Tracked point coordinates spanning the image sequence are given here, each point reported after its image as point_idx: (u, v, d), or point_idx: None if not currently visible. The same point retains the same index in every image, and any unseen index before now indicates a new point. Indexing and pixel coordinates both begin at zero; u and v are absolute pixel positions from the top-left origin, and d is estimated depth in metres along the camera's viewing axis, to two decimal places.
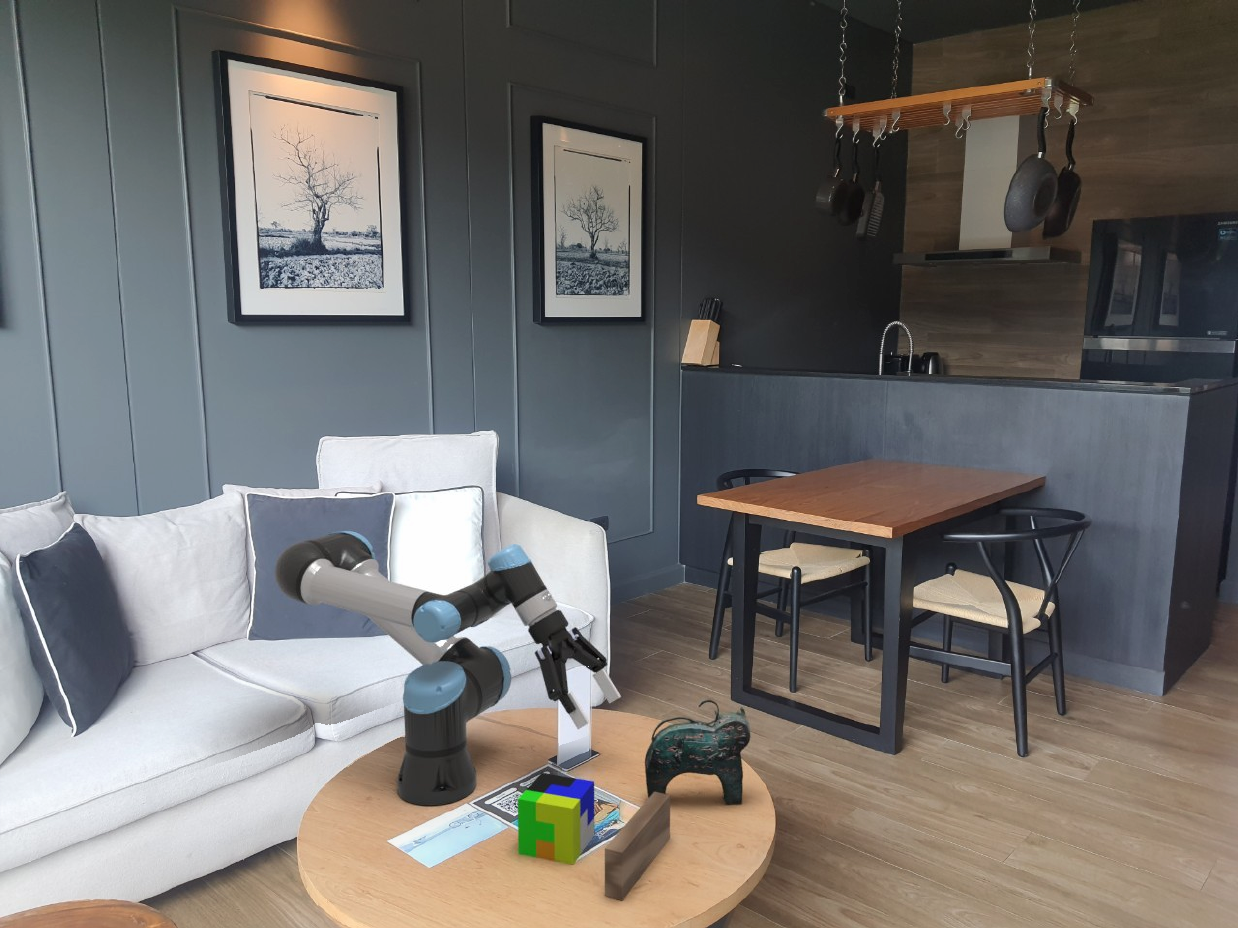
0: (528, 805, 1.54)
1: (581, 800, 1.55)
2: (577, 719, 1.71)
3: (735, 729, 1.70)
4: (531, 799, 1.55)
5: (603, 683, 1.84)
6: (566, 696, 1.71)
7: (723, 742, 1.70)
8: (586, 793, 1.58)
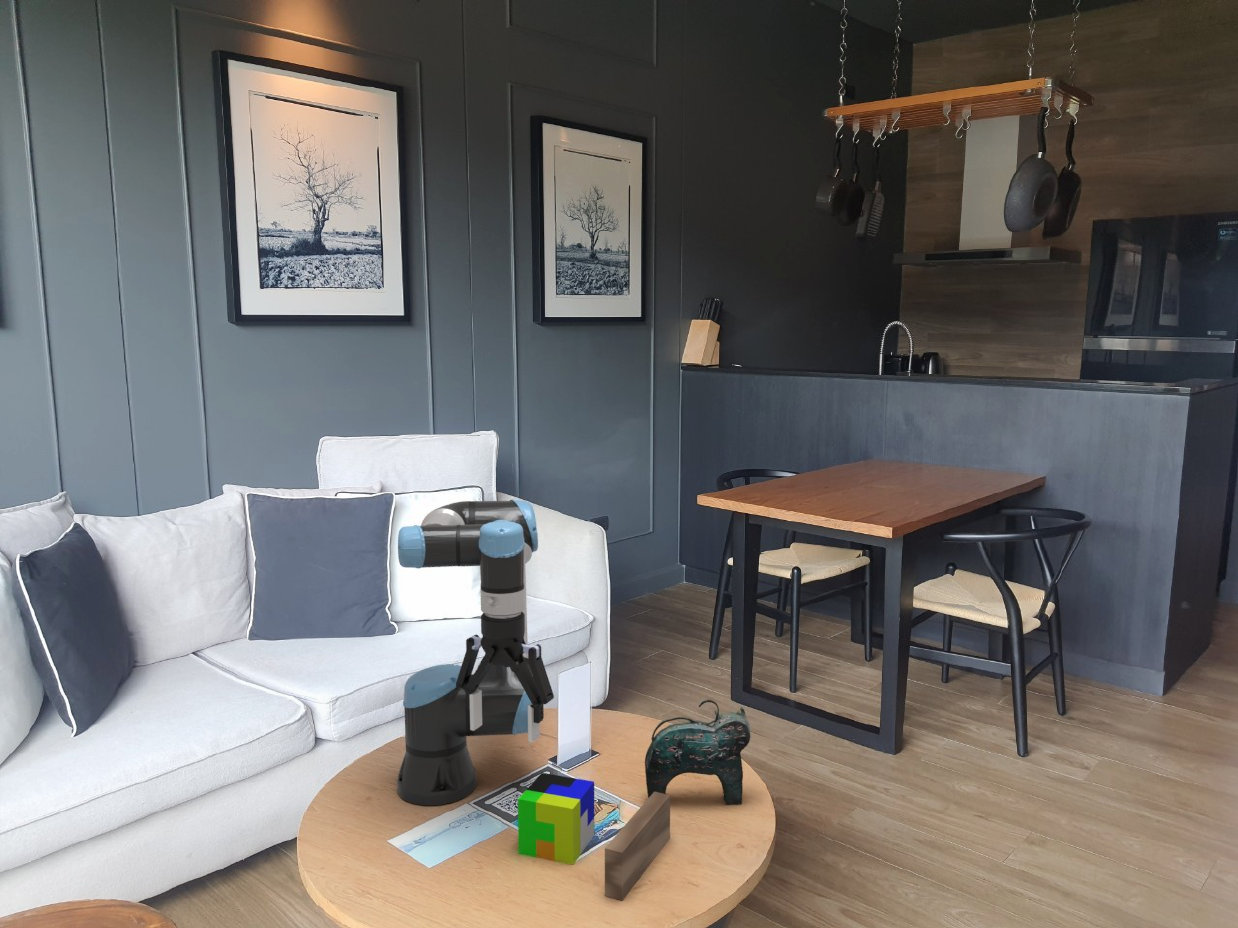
0: (528, 806, 1.54)
1: (581, 800, 1.55)
2: None
3: (735, 729, 1.70)
4: (531, 799, 1.55)
5: None
6: (469, 694, 1.63)
7: (723, 742, 1.70)
8: (586, 793, 1.58)
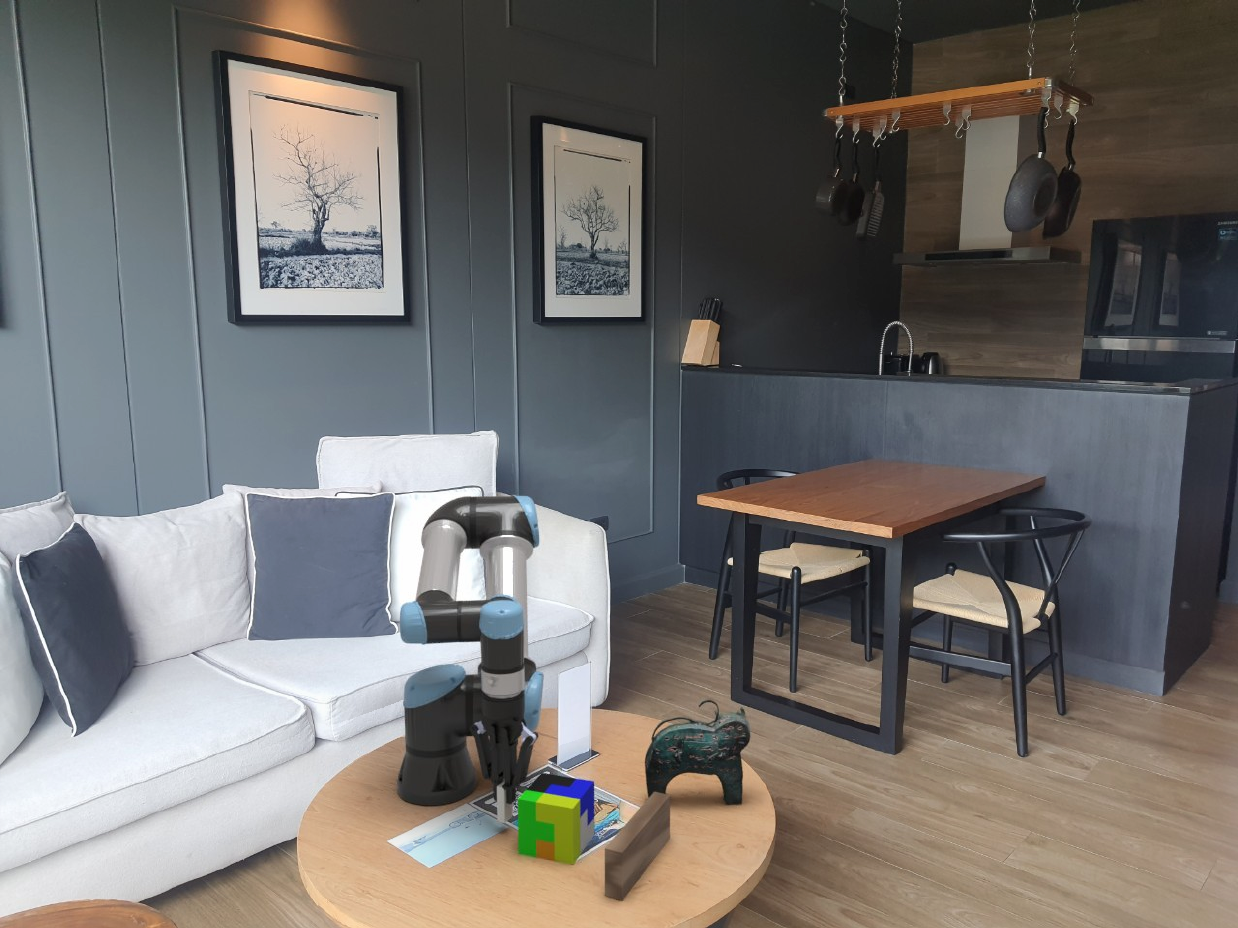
0: (528, 805, 1.54)
1: (581, 800, 1.55)
2: None
3: (735, 729, 1.70)
4: (531, 799, 1.55)
5: None
6: (498, 784, 1.62)
7: (723, 742, 1.70)
8: (586, 793, 1.58)
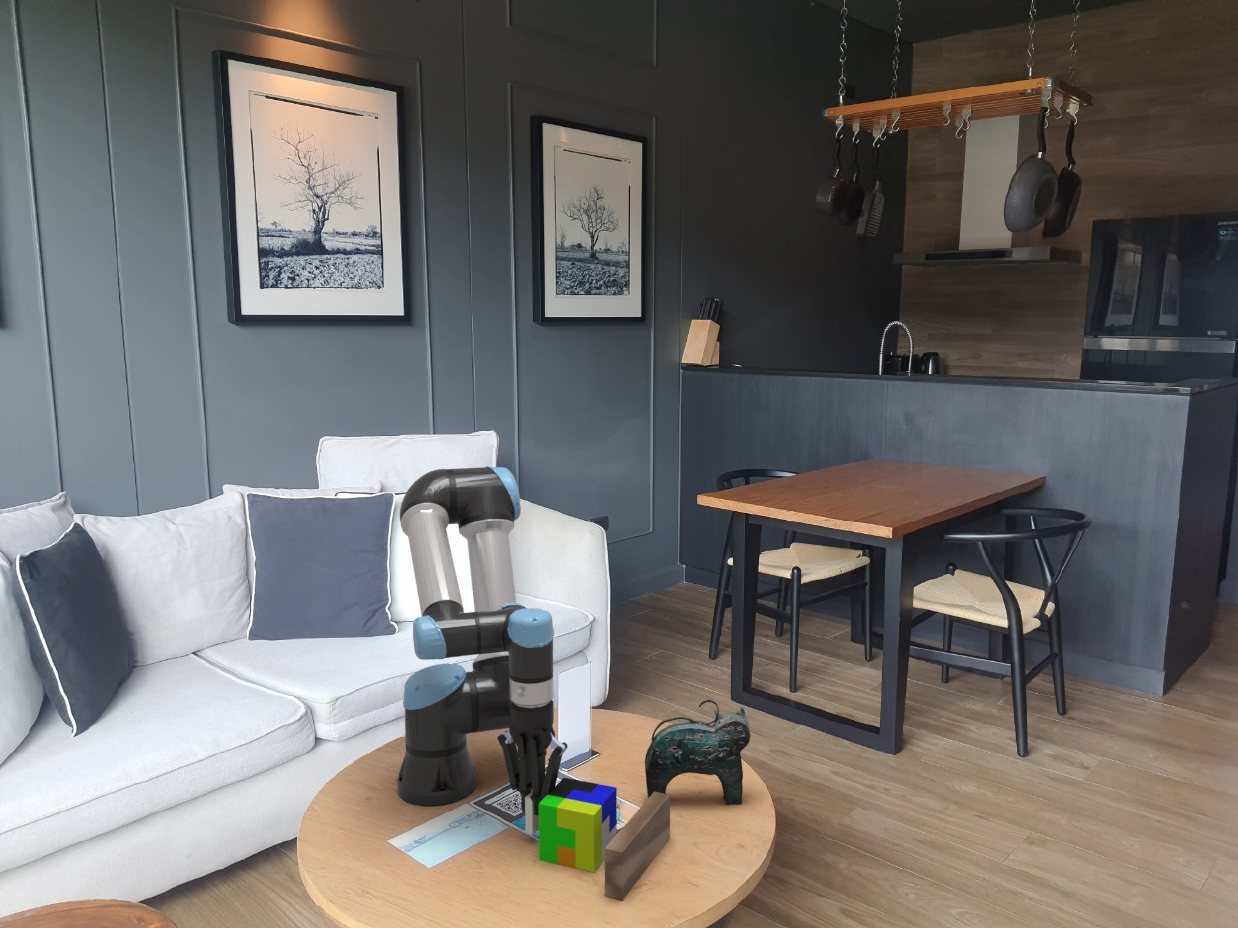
0: (549, 811, 1.53)
1: (603, 806, 1.53)
2: None
3: (735, 729, 1.70)
4: (552, 804, 1.53)
5: None
6: (526, 795, 1.59)
7: (723, 742, 1.70)
8: (608, 799, 1.55)
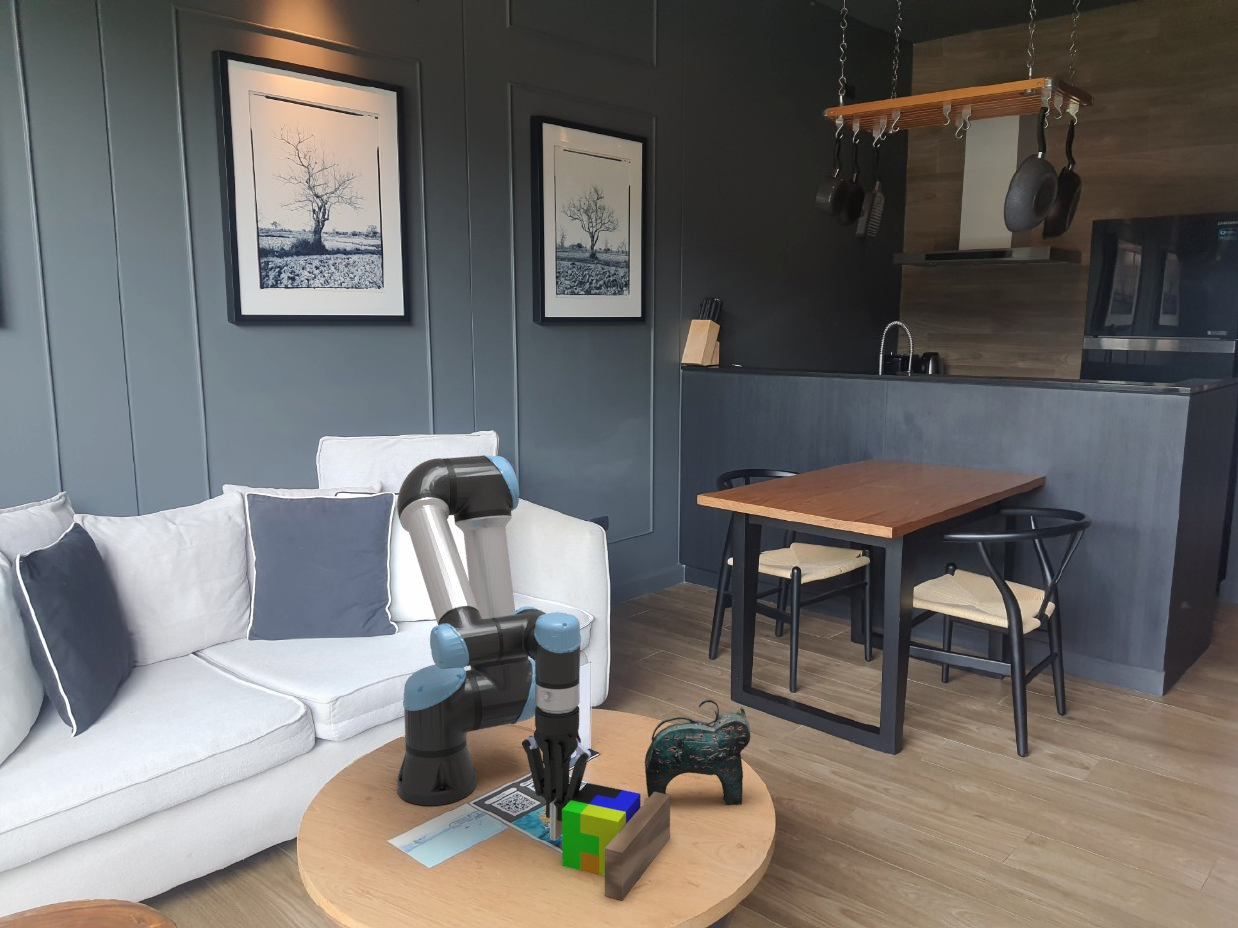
0: (572, 817, 1.51)
1: (627, 813, 1.51)
2: None
3: (735, 729, 1.70)
4: (575, 810, 1.51)
5: None
6: (551, 801, 1.58)
7: (724, 742, 1.70)
8: (632, 805, 1.53)
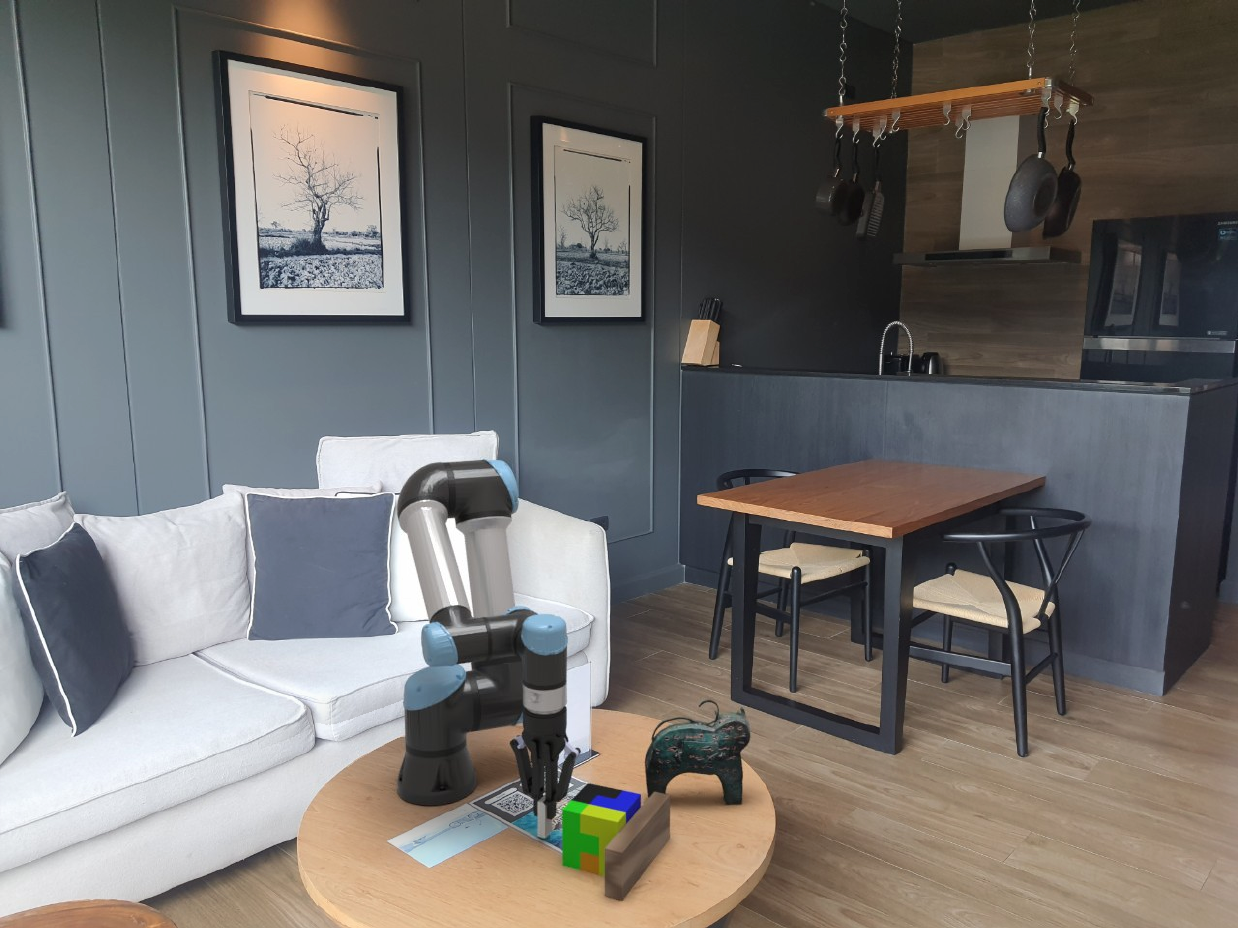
0: (572, 817, 1.51)
1: (627, 813, 1.51)
2: None
3: (735, 729, 1.70)
4: (575, 810, 1.51)
5: None
6: (539, 800, 1.60)
7: (723, 742, 1.70)
8: (632, 806, 1.53)
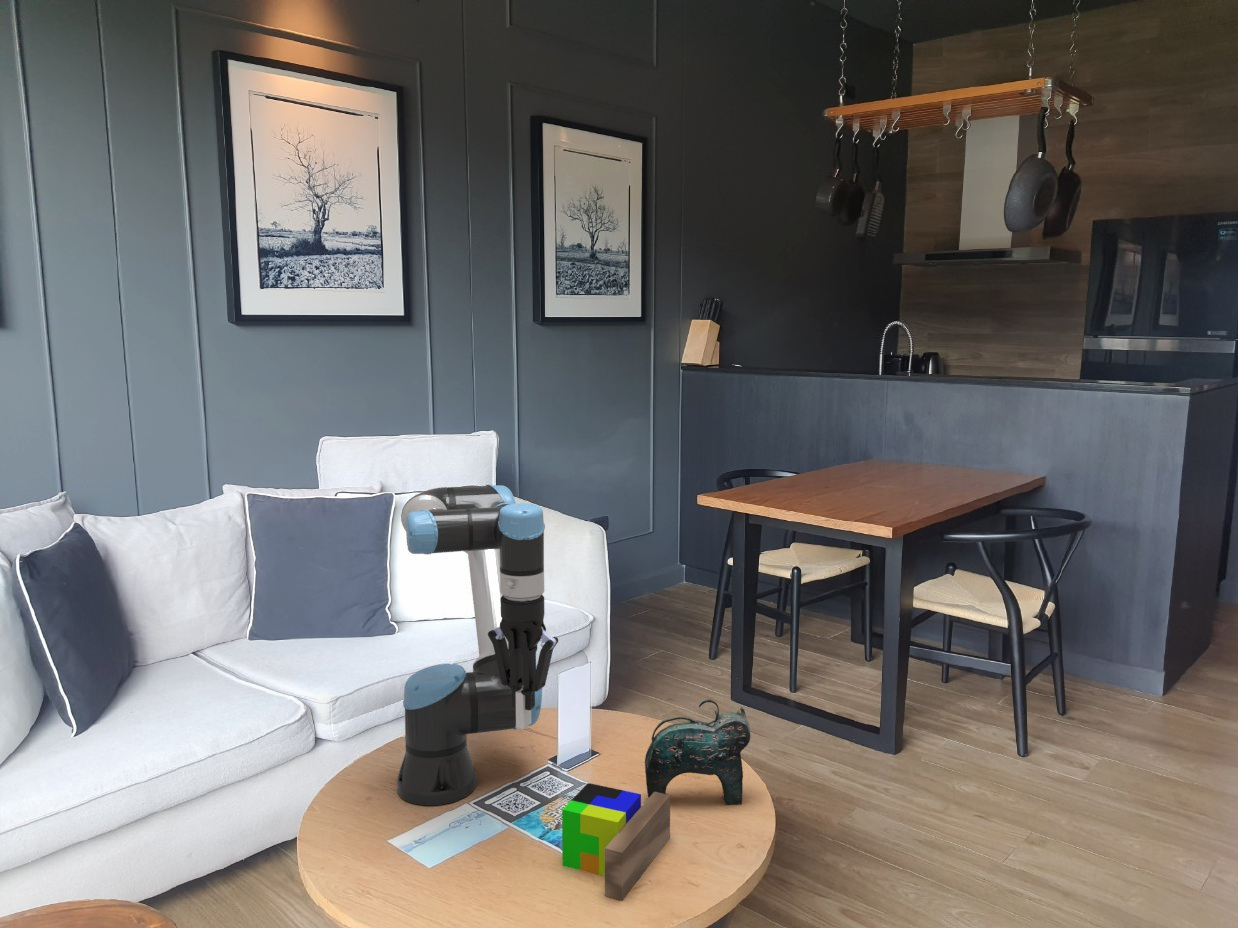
0: (572, 817, 1.51)
1: (627, 813, 1.51)
2: None
3: (735, 729, 1.70)
4: (575, 810, 1.51)
5: None
6: (517, 691, 1.59)
7: (724, 742, 1.70)
8: (632, 806, 1.53)
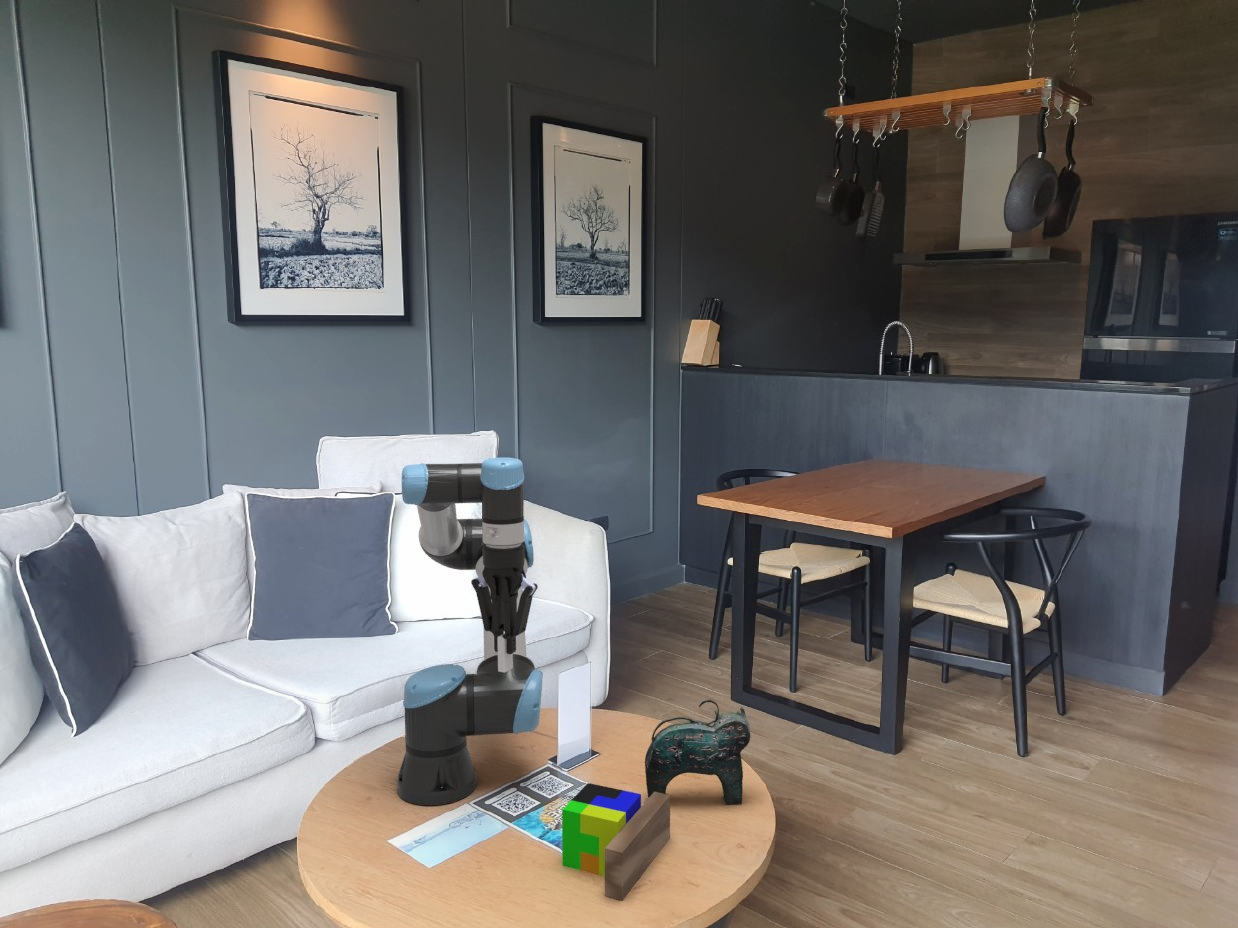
0: (572, 817, 1.51)
1: (627, 813, 1.51)
2: None
3: (735, 729, 1.70)
4: (575, 810, 1.51)
5: None
6: (499, 636, 1.68)
7: (723, 742, 1.70)
8: (632, 806, 1.53)
